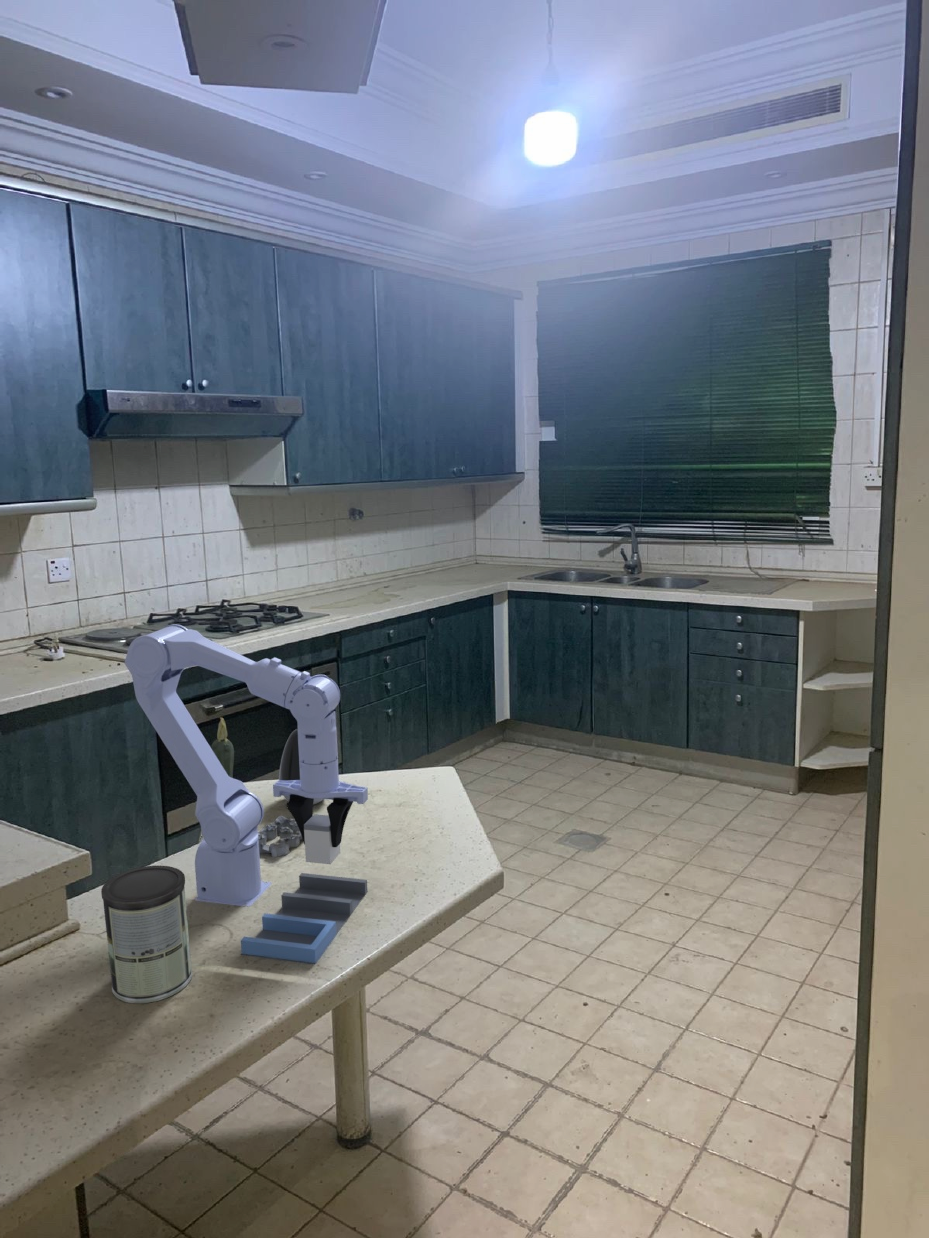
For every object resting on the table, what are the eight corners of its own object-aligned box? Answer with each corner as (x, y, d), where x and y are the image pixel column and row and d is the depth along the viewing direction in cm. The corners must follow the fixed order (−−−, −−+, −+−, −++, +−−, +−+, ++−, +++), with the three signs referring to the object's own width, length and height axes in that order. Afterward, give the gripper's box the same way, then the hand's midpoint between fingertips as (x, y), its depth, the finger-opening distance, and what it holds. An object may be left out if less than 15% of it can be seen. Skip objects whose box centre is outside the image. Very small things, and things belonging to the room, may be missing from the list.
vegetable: (232, 826, 170) (225, 723, 167) (210, 824, 171) (203, 722, 168) (242, 816, 175) (235, 716, 171) (221, 815, 176) (214, 715, 172)
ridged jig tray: (241, 958, 127) (239, 941, 126) (303, 887, 147) (302, 872, 146) (315, 967, 124) (314, 950, 123) (368, 894, 144) (367, 878, 143)
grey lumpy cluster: (281, 864, 156) (280, 841, 155) (245, 856, 159) (243, 834, 158) (316, 838, 165) (315, 817, 164) (281, 832, 168) (280, 811, 167)
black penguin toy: (305, 815, 175) (301, 739, 172) (269, 803, 181) (264, 730, 178) (343, 799, 183) (340, 726, 180) (307, 788, 189) (303, 717, 186)
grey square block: (305, 861, 139) (303, 824, 137) (316, 850, 142) (314, 814, 141) (330, 864, 138) (328, 826, 136) (340, 852, 141) (338, 816, 140)
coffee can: (95, 985, 121) (85, 886, 118) (164, 951, 129) (156, 857, 126) (138, 1014, 114) (129, 910, 112) (208, 977, 122) (201, 879, 120)
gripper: (373, 752, 139) (376, 836, 142) (285, 746, 143) (289, 828, 145) (357, 768, 132) (360, 856, 135) (264, 761, 136) (269, 847, 138)
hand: (322, 843), depth 140 cm, fingers closed on grey square block, 4 cm apart
